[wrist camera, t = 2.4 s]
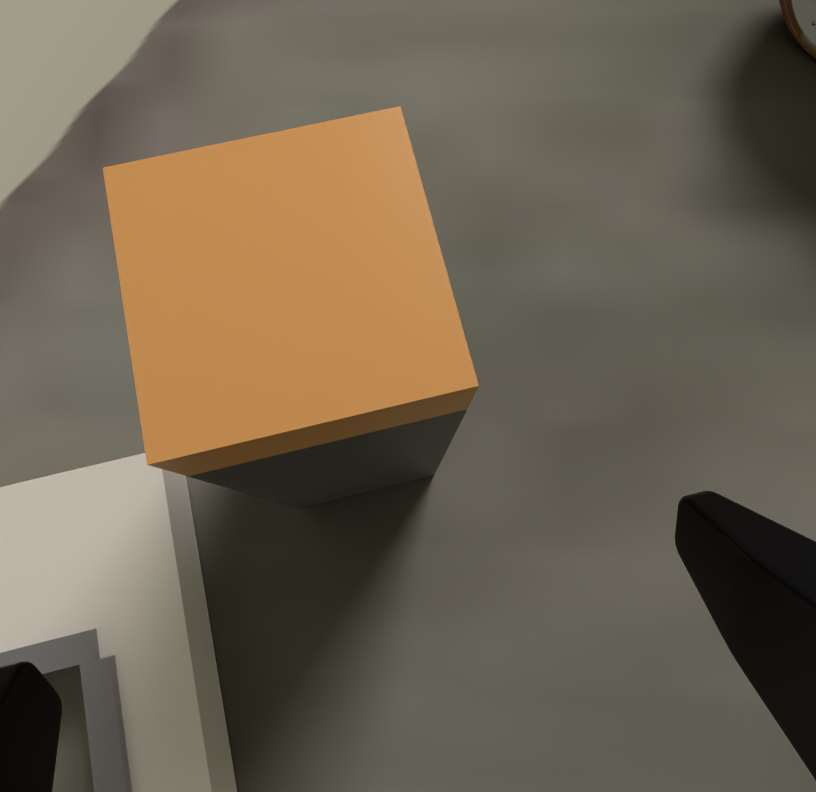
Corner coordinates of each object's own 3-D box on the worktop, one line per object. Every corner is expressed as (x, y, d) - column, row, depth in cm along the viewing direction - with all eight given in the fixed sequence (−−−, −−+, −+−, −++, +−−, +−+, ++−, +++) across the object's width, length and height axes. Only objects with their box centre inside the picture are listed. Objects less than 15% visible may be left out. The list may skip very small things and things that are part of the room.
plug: (433, 475, 20) (479, 386, 8) (301, 508, 19) (146, 464, 8) (401, 349, 21) (399, 105, 9) (274, 379, 20) (102, 167, 9)
